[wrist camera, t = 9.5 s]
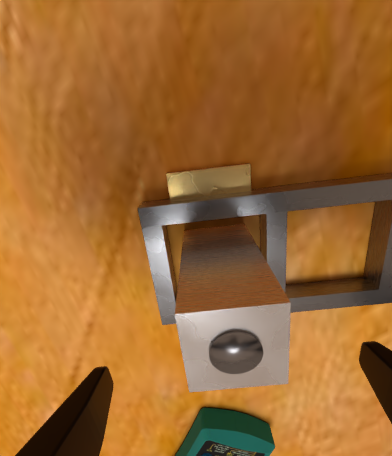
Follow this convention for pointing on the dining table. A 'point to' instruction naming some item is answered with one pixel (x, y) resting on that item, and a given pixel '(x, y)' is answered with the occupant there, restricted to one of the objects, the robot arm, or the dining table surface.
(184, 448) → the digital multimeter
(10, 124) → the dining table surface
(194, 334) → the grey tall square block
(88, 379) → the robot arm
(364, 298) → the rail frame
